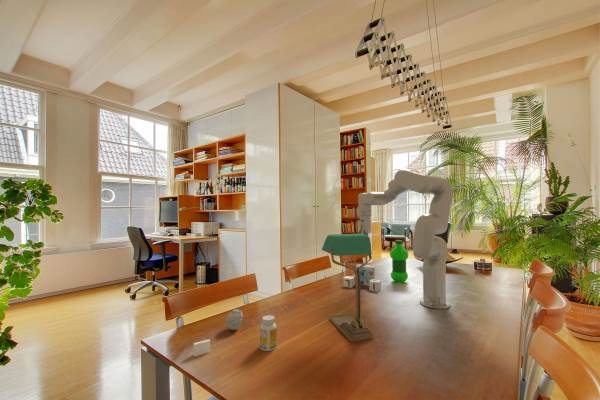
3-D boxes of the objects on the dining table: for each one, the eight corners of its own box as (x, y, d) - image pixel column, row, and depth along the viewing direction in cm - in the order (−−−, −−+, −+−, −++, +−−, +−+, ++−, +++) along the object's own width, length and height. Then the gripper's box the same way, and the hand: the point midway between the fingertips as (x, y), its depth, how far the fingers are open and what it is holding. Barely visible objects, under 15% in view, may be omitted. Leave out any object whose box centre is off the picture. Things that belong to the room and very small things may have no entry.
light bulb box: (355, 284, 164) (355, 266, 164) (356, 281, 170) (356, 263, 170) (374, 286, 161) (374, 267, 161) (374, 283, 167) (374, 265, 167)
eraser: (193, 355, 86) (193, 343, 86) (209, 350, 89) (209, 339, 89) (194, 356, 85) (194, 344, 85) (210, 352, 88) (210, 340, 88)
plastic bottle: (396, 278, 177) (395, 239, 177) (411, 282, 169) (411, 240, 169) (387, 281, 170) (386, 240, 171) (402, 285, 162) (402, 242, 163)
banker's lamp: (340, 343, 94) (340, 238, 94) (319, 318, 114) (319, 232, 115) (382, 337, 98) (381, 236, 99) (355, 314, 118) (354, 231, 119)
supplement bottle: (259, 352, 88) (259, 321, 88) (260, 343, 93) (260, 314, 93) (276, 351, 88) (276, 320, 89) (276, 343, 94) (276, 314, 94)
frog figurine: (246, 327, 106) (246, 308, 106) (233, 334, 100) (233, 315, 100) (234, 324, 109) (234, 306, 109) (221, 330, 103) (221, 311, 103)
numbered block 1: (378, 291, 150) (378, 282, 150) (369, 290, 152) (369, 281, 153) (380, 289, 155) (380, 280, 155) (371, 288, 157) (371, 278, 157)
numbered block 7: (351, 287, 157) (351, 279, 157) (343, 286, 160) (343, 278, 160) (354, 285, 162) (354, 277, 162) (346, 284, 164) (346, 276, 164)
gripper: (367, 214, 158) (367, 246, 157) (374, 213, 171) (374, 243, 171) (354, 214, 161) (354, 246, 161) (362, 213, 175) (362, 242, 175)
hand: (365, 244), depth 166 cm, fingers closed
